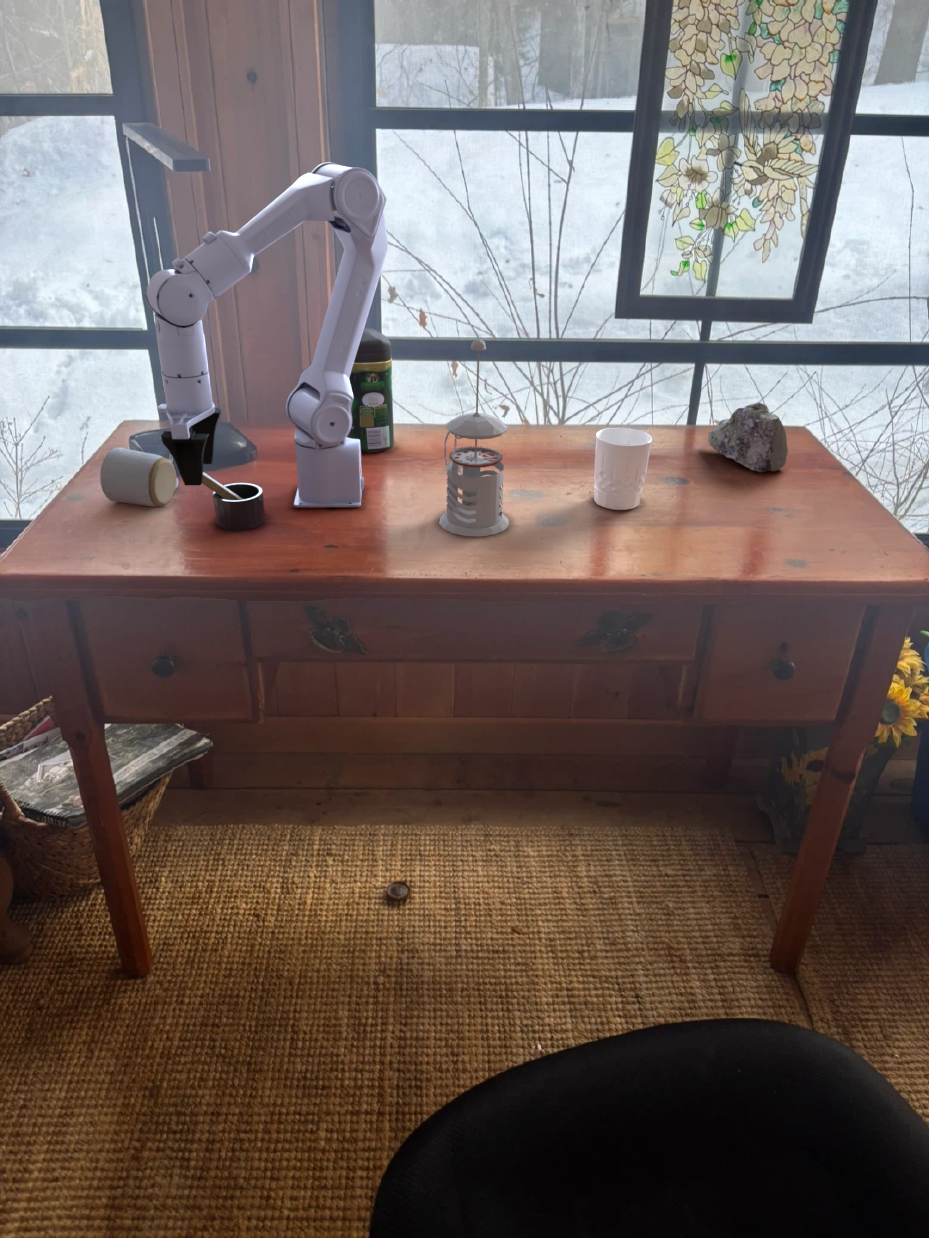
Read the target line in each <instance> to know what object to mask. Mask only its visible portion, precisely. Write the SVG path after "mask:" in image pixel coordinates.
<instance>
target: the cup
mask: <svg viewBox="0 0 929 1238" xmlns="http://www.w3.org/2000/svg"><path fill="white" fill-rule="evenodd" d="M223 486H225V487H226V488H228V489H229V490H230V491H232V492H233V493H235V494H236V495H238V496H239V497H241V498H242V499H244V500H226V499H224V498H223V497H221V496H220V495H218V494H217V493H215V492H214V491H213V492H212V501H213V509H214V517H215V518H214V519H215V524H216V525H217V527H218V528H220V529H222V530H225V531H230V532H244V531H250V530H253V529H254V530H255V529H258V528H259V527H261V526H262V525H264V523H265V522H266V509H265V499H264V490H263V488H262V487H260V485H257V484H254V483H250V482H249V483H248V482H233V483H228V484H224V485H223Z"/></svg>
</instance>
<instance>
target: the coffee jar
mask: <svg viewBox="0 0 929 1238" xmlns="http://www.w3.org/2000/svg"><path fill="white" fill-rule="evenodd" d="M349 380H350V384H351V388H352V392H353V397H354V399H353V402H352V406H351V415H352V427H351V430H350V432H349V434H348V436H347V437H348V438H352V439H359V440H360V446H361V452H365V453H380V452H381V451H386V450H390V449H391V448H393V446H394V444H395V430H394V429H395V428H394V401H393V353H392V343H391V342H390V339H389V338H388V337H387V336H386V335H385V334H384V333H382V332H380V331H378V330H377V329H375V328H364V330H363V334H362V337H361V340H360V344H359V347H358V350H357V354H356V357H355V360H354V364H353V367H352V370H351V374H350V377H349Z"/></svg>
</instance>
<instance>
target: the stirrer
mask: <svg viewBox="0 0 929 1238" xmlns="http://www.w3.org/2000/svg"><path fill="white" fill-rule="evenodd" d="M201 485H204V486H205V487H206V488H208V489H210V490H211V491H213V492H215V493H217V494H218V495H220V496H221V497H223V498H224V499H226V500H244V499H242V498H241V497H239V496H238V495H236V494H235V493H233V492H232V491H230V490H229V489H228V488H226V487H225V486H224V485H223V484H222V483H221V482H219V481H217V480H216V479H214V478H213V477H211V476H210V475H209V474H207V473H206V472H204V471H203V479H202V484H201Z"/></svg>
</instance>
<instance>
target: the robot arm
mask: <svg viewBox="0 0 929 1238" xmlns="http://www.w3.org/2000/svg"><path fill="white" fill-rule="evenodd" d="M386 203H387V196H386V194H385V193H384V191H383V189H382V187H381V186H380V184H379V182H378V180H377V179H376V177H375V176H374V175H373V174H372V173H371V172H370V171H369V170H367V169H366V168H363V167H350V166H347V165H346V166H345V165H341V164H339V163H335V162H331V161H329V162H328V161H327V162H322V163H320V164H318V165H317V166H315V167H314V168H313V170H311V172H307V173H304V174H302V175H301V176H300V177H298V178H297V179H296V180H295V182H293V183H292V184H291V185H290V186H289V187H288V188H286V190H285V191H284V192H282V193H281V194H280V195H279V196H277V197H276V198H275V199H274V200H273V201H271V202H270V203H269V204H268V205H267V206H266V207H264V208H263V209H262V210H261V211H259V213H257V214H256V215H255V216H254V217H253V218H251V219H250V220H249V221H248V222H247V223H245V224H244V225H243V226H241V228H239V229H238V230H237V231H236V232H231V231H227V230H219V231H218V232H216V233H213V232H212V231H208V232H207V233H206V234H204V235H203V236H202V237H201V238H202V240H203V243H202V244H200V245H199V246H198V247H196V248H195V249H194V250H192V251H191V252H190V253H188V254H187V255H186V256H184V257H183V258H182V259H181V258H179V257H176V258H175V259H174V260H172V262H171V264H172V266H173V269H172V268H171V269H170V268H168V269H162V270H159V271H157V272H155V273H154V274H153V275H152V277H151V278H149V280H148V285H147V286H146V293H144V299H145V302H146V303H147V305H148V307H149V308H150V310H151V311H152V312H153V313H155V314H154V321H155V328H156V343H157V350H158V355H159V363H160V370H161V377H162V383H163V387H164V388H163V389H164V396H165V403H161V404H158V406H157V413H158V414H163V415H166V417H167V418H168V420H169V422H170V424H169V425H170V430H164V431H163V432H162V434H161V435H160V437H161V442H162V444H163V446H165V448H166V449H167V450H168V452H169V453H170V455H171V457H172V458H173V460H174V462H175V464H176V466H177V469H178V472H179V474H180V477H181V480H182V482H183V484H184V485H185V486H202V485H203V484H202V479H203V472H204V465H212V463H213V460H214V451H215V438H216V437H215V436H216V432H217V425H218V422H219V419H220V417H221V415H222V409H221V408H219V407H216V406H215V403H214V402H213V395H212V385H211V378H210V370H209V362H208V361H209V360H208V354H207V347H206V346H207V345H206V336H205V333H204V326H203V319H204V317H205V315H206V314H207V310H208V306H209V303H213V302H214V301H215V300H216V299H217V298H219V297H220V296H221V295H223V294H224V293H225V292H226V291H228V290H229V289H231V288H232V287H233V286H234V285H236V284H237V283H238V282H240V281H241V280H242V279H244V278H245V277H246V276H247V275H248V274H250V273H251V272H252V268H253V263H254V262H253V261H254V257H255V256H256V255H258V254H259V253H261V252H262V251H263V250H266V249H267V248H268V247H270V246H271V245H273V244H274V243H275V242H277V241H278V240H280V239H281V238H283V237H284V236H286V235H287V234H288V233H290V232H292V231H293V230H295V229H296V228H298V226H300V225H302V224H304V223H305V222H327V223H328V224H329V225H330V226H332V229H333V231H334V232H335V234H336V236H337V238H338V240H339V242H340V243H341V245H342V246H343V253H342V257H341V260H340V263H339V266H338V267H339V268H338V270H337V274H336V277H335V281H334V285H333V287H332V291H331V294H330V299H329V303H328V306H327V309H326V312H325V315H324V320H323V323H322V327H321V330H320V334H319V337H318V340H317V344H316V348H315V351H314V354H313V357H312V361H311V364H310V365H309V367H307V368H306V369H305V370H304V371H303V372H302V373H301V374H300V377H299V380H298V383H297V384H296V386H295V387H294V389H292V391H291V392H290V394H289V395H288V397H287V399H286V403H285V413H286V415H287V418H288V420H289V421H290V422H291V423H292V424H293V425H294V426H295V431H294V434H293V435H294V436H293V440H294V452H295V464H296V478H297V490H296V493H295V496H294V501H293V507H294V508H297V509H299V508H300V509H301V508H303V509H305V508H315V509H316V508H317V509H318V508H360V507H361V506H362V496H363V490H364V489H365V479H364V476H363V471H362V451H361V446H360V440H359V439H352V438H348V437H347V436H348V434H349V432H350V430H351V427H352V415H351V406H352V402H353V399H354V397H353V392H352V388H351V384H350V380H349V377H350V374H351V370H352V367H353V364H354V360H355V357H356V354H357V350H358V347H359V344H360V340H361V337H362V334H363V330H364V329H365V328H366V327H365V326H366V324H367V320H368V317H369V313H370V309H371V307H372V304H373V301H374V297H375V294H376V291H377V286H378V283H379V280H380V277H381V273H382V270H383V267H384V263H385V260H386V257H387V253H388V246H389V243H388V234H387V227H386V218H385V212H384V211H385V207H386Z"/></svg>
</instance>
